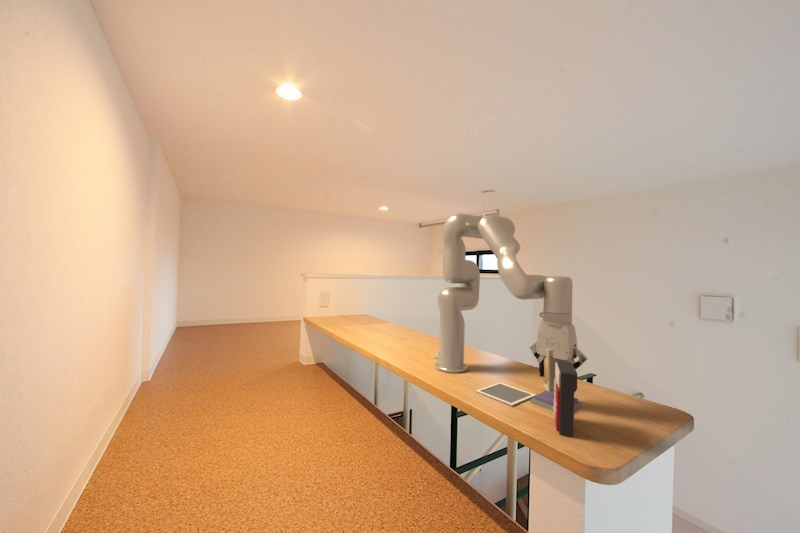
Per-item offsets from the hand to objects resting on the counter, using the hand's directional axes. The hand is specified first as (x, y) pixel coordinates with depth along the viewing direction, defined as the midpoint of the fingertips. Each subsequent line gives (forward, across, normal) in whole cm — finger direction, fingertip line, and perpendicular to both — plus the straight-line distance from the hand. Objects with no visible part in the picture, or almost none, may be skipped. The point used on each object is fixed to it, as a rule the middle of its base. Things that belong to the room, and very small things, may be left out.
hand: (556, 379), depth 94 cm
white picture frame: (+7, -13, -6) cm, 16 cm away
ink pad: (+7, 0, 0) cm, 7 cm away
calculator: (+8, +8, -12) cm, 16 cm away
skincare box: (+3, 0, 0) cm, 3 cm away
